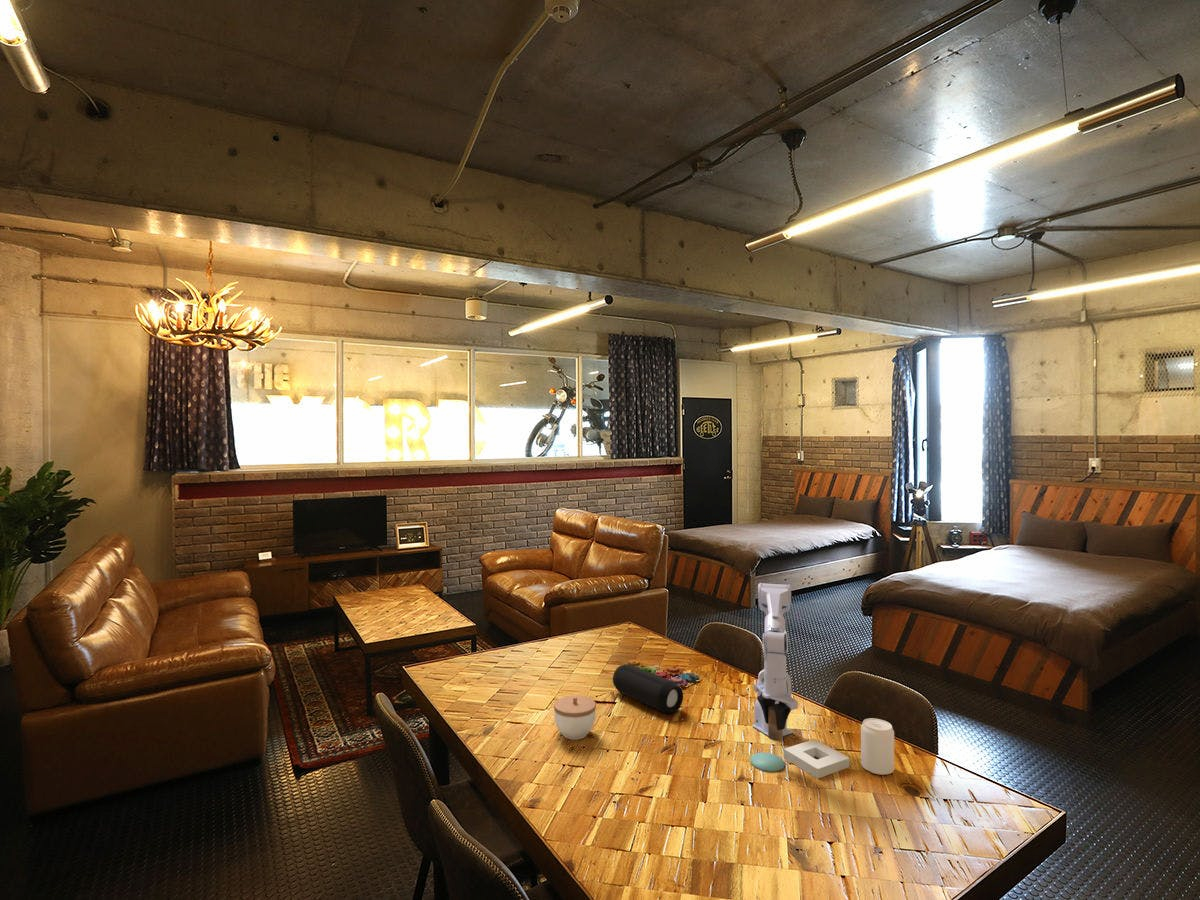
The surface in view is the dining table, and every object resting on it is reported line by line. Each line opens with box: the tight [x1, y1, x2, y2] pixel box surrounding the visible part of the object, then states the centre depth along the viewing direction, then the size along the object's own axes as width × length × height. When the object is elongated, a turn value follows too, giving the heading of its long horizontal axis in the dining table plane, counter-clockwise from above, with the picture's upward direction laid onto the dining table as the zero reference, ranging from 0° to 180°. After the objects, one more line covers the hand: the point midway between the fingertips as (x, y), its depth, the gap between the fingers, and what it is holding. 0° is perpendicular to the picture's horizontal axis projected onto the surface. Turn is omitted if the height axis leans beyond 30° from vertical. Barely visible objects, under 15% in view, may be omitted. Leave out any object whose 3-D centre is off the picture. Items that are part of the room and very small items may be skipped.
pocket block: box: [783, 738, 850, 780], centre depth 168 cm, size 12×12×2 cm
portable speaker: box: [612, 664, 684, 714], centre depth 207 cm, size 26×10×10 cm, turn 41°
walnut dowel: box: [767, 705, 784, 742], centre depth 167 cm, size 4×4×8 cm
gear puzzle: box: [623, 659, 700, 689], centre depth 232 cm, size 31×16×4 cm, turn 46°
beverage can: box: [860, 717, 895, 776], centre depth 165 cm, size 8×8×12 cm
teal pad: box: [750, 752, 786, 773], centre depth 168 cm, size 9×9×1 cm
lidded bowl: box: [553, 695, 597, 741], centre depth 184 cm, size 13×13×11 cm
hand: (774, 725), depth 167 cm, fingers closed on walnut dowel, 4 cm apart
